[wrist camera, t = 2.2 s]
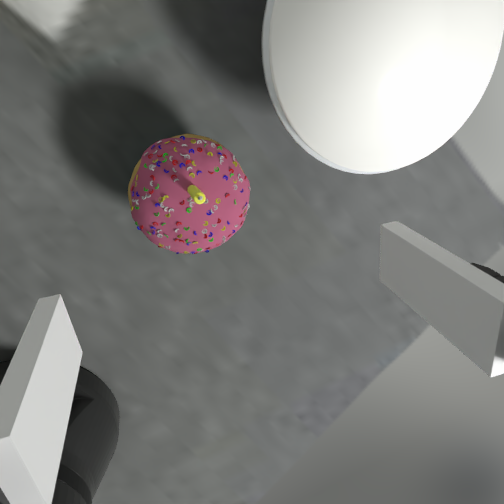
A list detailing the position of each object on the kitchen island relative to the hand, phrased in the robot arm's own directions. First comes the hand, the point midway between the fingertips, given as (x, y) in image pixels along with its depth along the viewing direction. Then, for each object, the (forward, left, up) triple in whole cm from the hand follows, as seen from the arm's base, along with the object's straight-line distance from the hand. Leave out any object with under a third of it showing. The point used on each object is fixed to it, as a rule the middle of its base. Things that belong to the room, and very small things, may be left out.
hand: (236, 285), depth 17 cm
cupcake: (0, 0, -18) cm, 18 cm away
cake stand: (+14, +8, -18) cm, 24 cm away
